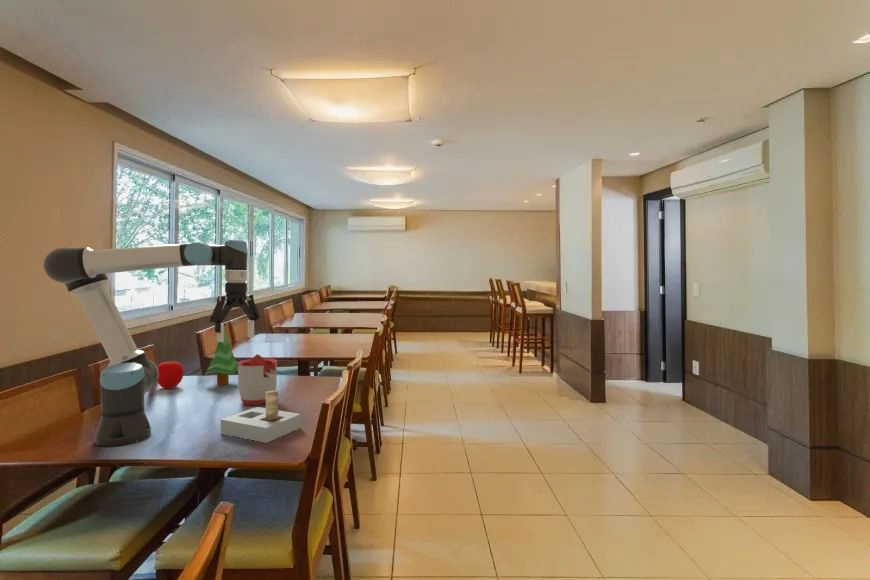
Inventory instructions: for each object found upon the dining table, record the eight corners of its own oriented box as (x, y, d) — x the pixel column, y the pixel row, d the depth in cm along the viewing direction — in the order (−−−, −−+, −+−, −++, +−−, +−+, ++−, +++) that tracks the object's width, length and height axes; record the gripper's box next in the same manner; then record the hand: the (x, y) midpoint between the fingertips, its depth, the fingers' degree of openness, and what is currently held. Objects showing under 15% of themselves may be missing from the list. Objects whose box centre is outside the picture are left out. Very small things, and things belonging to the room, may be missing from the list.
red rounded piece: (149, 389, 210) (149, 361, 210) (169, 384, 221) (169, 357, 220) (169, 391, 207) (168, 363, 206) (188, 386, 217) (188, 359, 217)
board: (266, 443, 145) (266, 428, 145) (220, 434, 153) (220, 419, 153) (300, 428, 160) (300, 414, 160) (257, 420, 168) (257, 406, 168)
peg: (272, 436, 152) (272, 394, 151) (262, 434, 154) (262, 392, 153) (281, 432, 156) (281, 391, 155) (271, 430, 157) (271, 389, 157)
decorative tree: (200, 388, 213) (199, 323, 212) (217, 380, 229) (216, 320, 227) (228, 389, 212) (228, 324, 211) (244, 381, 228) (243, 320, 227)
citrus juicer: (258, 410, 180) (257, 359, 180) (229, 403, 189) (228, 355, 188) (288, 400, 194) (288, 353, 193) (260, 395, 202) (260, 349, 202)
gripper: (213, 282, 157) (213, 344, 158) (269, 282, 179) (269, 336, 180) (198, 282, 160) (198, 342, 161) (255, 281, 183) (255, 334, 183)
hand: (236, 339), depth 170 cm, fingers open, 13 cm apart
